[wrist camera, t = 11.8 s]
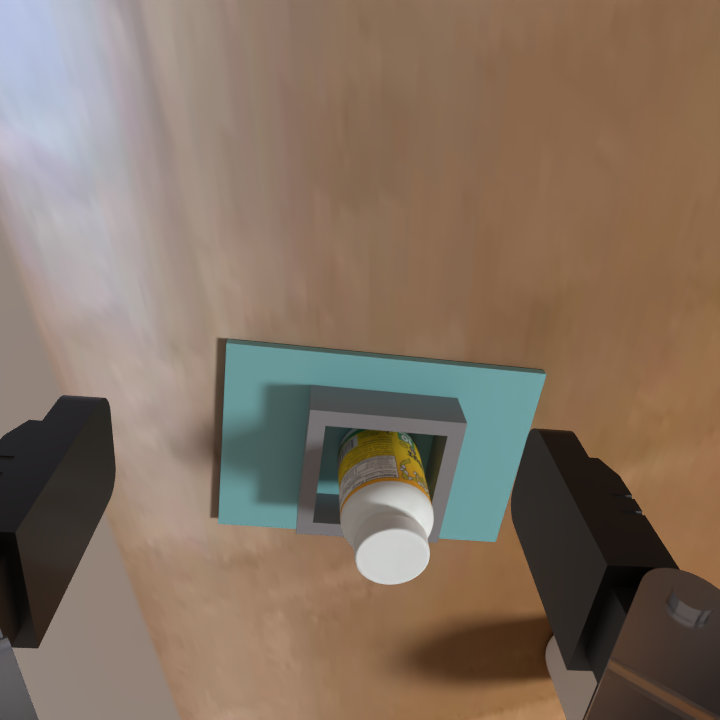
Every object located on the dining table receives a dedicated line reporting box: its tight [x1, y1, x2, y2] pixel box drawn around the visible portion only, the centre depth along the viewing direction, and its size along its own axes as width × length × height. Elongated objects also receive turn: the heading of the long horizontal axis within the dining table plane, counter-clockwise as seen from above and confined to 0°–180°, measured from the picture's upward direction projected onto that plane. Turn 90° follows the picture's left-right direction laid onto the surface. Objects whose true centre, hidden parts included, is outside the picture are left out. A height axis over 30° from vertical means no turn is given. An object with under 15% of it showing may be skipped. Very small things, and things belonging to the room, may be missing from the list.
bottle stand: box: [218, 339, 546, 543], centre depth 41 cm, size 20×14×4 cm
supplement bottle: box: [337, 428, 434, 584], centre depth 37 cm, size 5×5×10 cm
